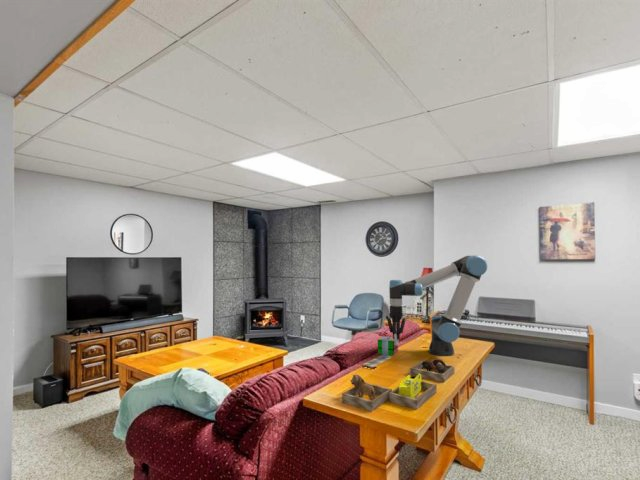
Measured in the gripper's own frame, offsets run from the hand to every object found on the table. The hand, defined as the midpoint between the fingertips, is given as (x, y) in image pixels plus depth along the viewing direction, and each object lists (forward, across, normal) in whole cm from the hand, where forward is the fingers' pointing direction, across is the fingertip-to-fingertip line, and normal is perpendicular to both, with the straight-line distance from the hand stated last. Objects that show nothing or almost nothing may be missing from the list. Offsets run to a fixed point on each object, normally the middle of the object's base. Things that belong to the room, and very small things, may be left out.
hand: (396, 344), depth 206 cm
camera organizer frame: (+7, +32, -51) cm, 61 cm away
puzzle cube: (+8, -6, +1) cm, 10 cm away
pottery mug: (+8, +28, -15) cm, 33 cm away
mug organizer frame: (+7, +28, -17) cm, 34 cm away
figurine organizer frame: (+7, +18, -66) cm, 69 cm away
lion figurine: (+8, +16, -66) cm, 69 cm away
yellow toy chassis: (+8, +31, -51) cm, 60 cm away
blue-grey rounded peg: (+6, -3, -9) cm, 11 cm away
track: (+7, -3, -18) cm, 20 cm away
